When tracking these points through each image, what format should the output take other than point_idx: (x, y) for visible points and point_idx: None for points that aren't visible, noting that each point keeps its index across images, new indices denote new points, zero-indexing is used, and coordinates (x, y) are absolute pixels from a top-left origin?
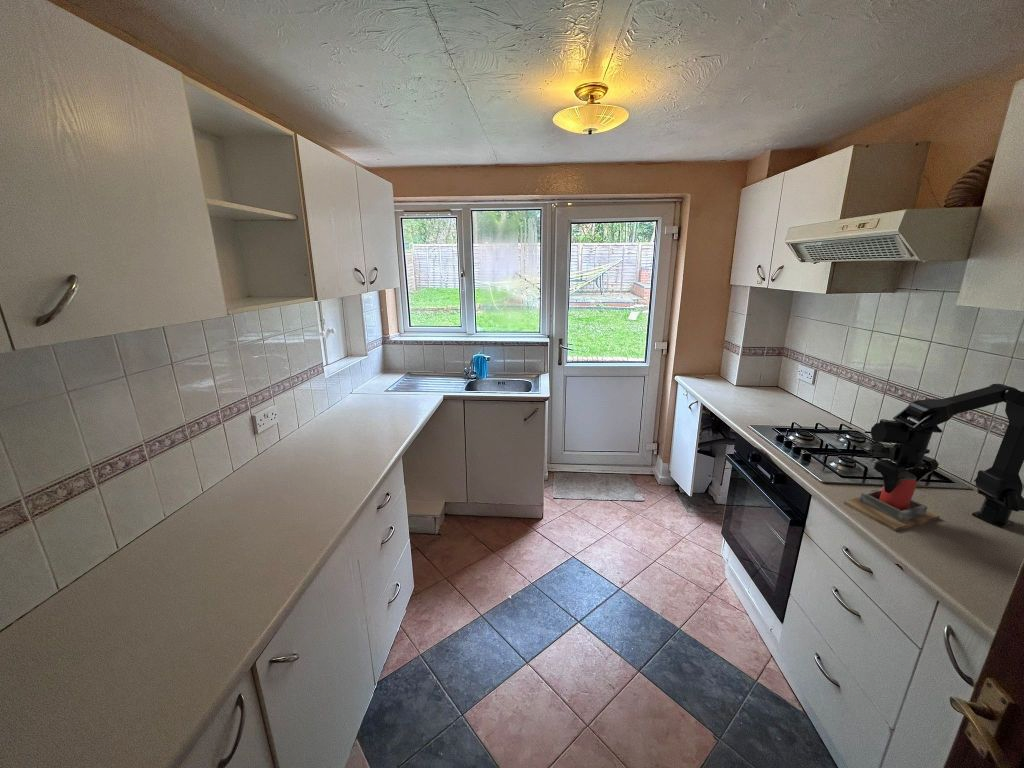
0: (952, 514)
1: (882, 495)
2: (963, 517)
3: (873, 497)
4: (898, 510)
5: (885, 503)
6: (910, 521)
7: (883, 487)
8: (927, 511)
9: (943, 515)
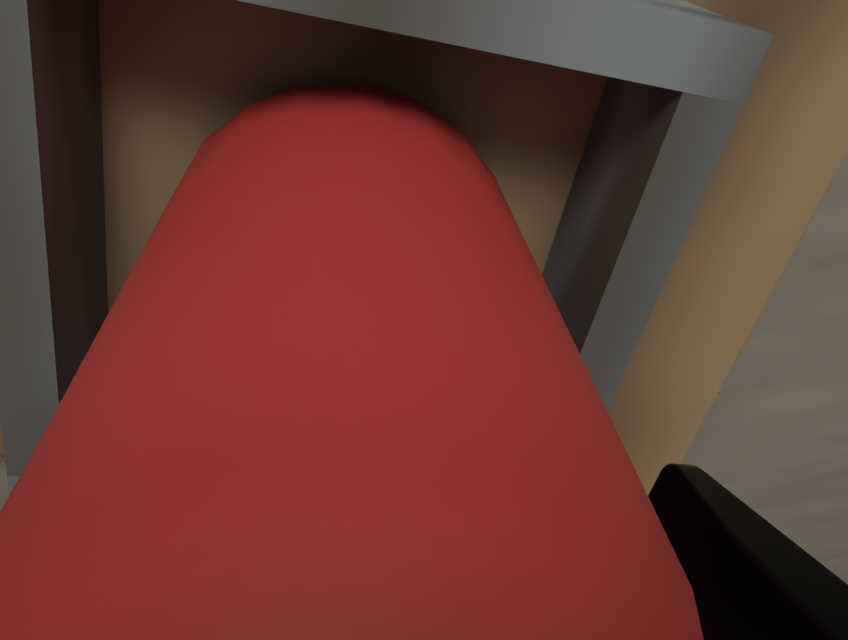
0: (839, 497)
1: (168, 212)
2: (843, 541)
3: (20, 98)
4: (25, 461)
5: (31, 301)
6: None
7: (183, 250)
8: (650, 439)
9: (750, 476)
